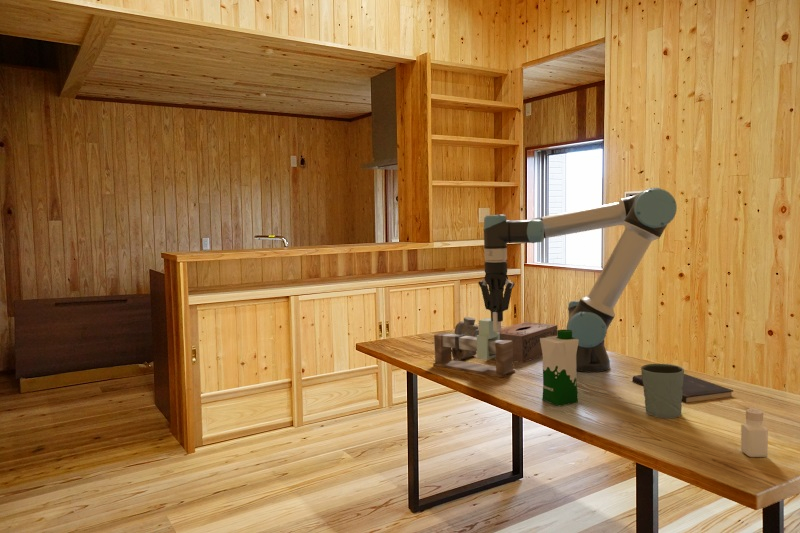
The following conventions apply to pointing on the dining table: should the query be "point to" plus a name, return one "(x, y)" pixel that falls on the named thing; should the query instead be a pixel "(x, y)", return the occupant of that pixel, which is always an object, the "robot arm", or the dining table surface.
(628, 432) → the dining table surface
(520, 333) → the tissue box cover
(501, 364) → the rail
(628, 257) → the robot arm
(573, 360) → the milk carton
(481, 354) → the pale green slider block
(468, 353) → the pipe
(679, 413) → the grey green cup
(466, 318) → the pipe fitting
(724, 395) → the hardcover book
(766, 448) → the salt shaker
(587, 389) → the dining table surface
